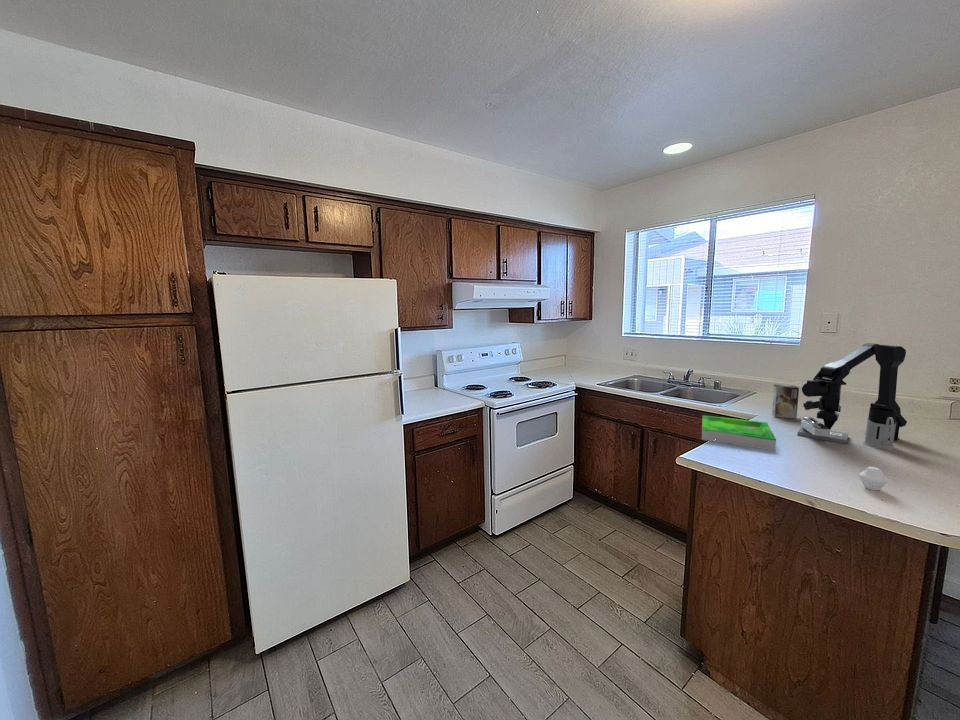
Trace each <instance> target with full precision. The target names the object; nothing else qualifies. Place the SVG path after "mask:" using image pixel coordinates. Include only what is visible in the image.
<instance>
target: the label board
mask: <svg viewBox="0 0 960 720" xmlns="http://www.w3.org/2000/svg"><path fill="white" fill-rule="evenodd" d="M797 436H801V437H807V438H812V439H818V440H823V441H828V442H833V443H834V442H835V443H840V444H846V445H847V443H848V438H849V433H848V432H843V431H842V432H841V431H835V430H830V437H828V436H816V435H813V434H812V433H810V432H809V431H807V430H806V429H803V428H802V427H801V426H800V428H799V429H798V431H797Z"/></svg>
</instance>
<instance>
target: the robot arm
mask: <svg viewBox="0 0 960 720" xmlns="http://www.w3.org/2000/svg"><path fill="white" fill-rule="evenodd" d="M906 353H907V350H906V349H905V348H904V347H903V346H900V345H889V344H880V343H879V344H878V343H872V342H871V343H870V342H868V343H867V342H866V343H863V344H862V346H860V347H858V348H857V349H855V350H854V351H852V352H851V353H849V354H848V355H846V356H844V357H843V358H841V359H840V360H836V361H833V362H828V363H826V364H825V365H823V366H821V367H820V370H819V371H818V372H817V373H816V375H815V376H814V377H813V378H812V380H811V379H808V380H806V383H804V384H803V385H802V387H801V392H802V393H803V395H804V396H805V397H809V398H811V397H820V398H817V399H809V400H805V401H803V402H802V405H803V406H802V407H803V408H804V410H805V411H809V410H814V409H818V410H819V411H817V413H816V419H821V420H823V425H825V426H827V428H829V429H830V430H831V429H832V428H833V426H834V425H835V423H836V422H837V421H838V420H839V417H840V414H839V413H841V411H842V406H841V405H840V402H841V393H842V391H841V390H842V386H846V385H847V383H846V381H844V379H845V378H846V377H847V376H849V374H850V372H851V370H852V369H853V368H856V367H857V366H858V365H860V364H861V363H863V362H865V361H867V360H868V359H870V358H871V357H873V356H875V361H876V363H877V364H878V365H879V377H878V378H879V380H878V392H877V393H878V394H877V395H878V396H877V399H876V401H875V402H871V403H870V407H880V408H888V409H892V410H896V411H897V415H896V427H895V434H894V441H897V442H898V441H899V434H900V433H899V432H900V428H904V427H906V425H907V423H908V421H907V420H906V418H905V417H904V416H903V415H902V414H901V407H900V405H899V403H898V402H897V400H896V397H897V396H896V395H897V385H898V384H897V383H898V371H899V366H901V365H902V364H903V363H904V361H905V360H906V359H905V358H906ZM870 407H869V408H870Z"/></svg>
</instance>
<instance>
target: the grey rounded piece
mask: <svg viewBox="0 0 960 720" xmlns="http://www.w3.org/2000/svg"><path fill="white" fill-rule="evenodd" d="M896 415H897V411H896V410H892V409H888V408H880V407H869V410H868V418H867V421H866V428H865V437H864V440H863V441H862V444H863V445H864V446H866V447H870V448H876V449H880V450H888V449H889V450H894V449H895V447H894V441H895V440H894V434H895V427H896Z"/></svg>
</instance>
